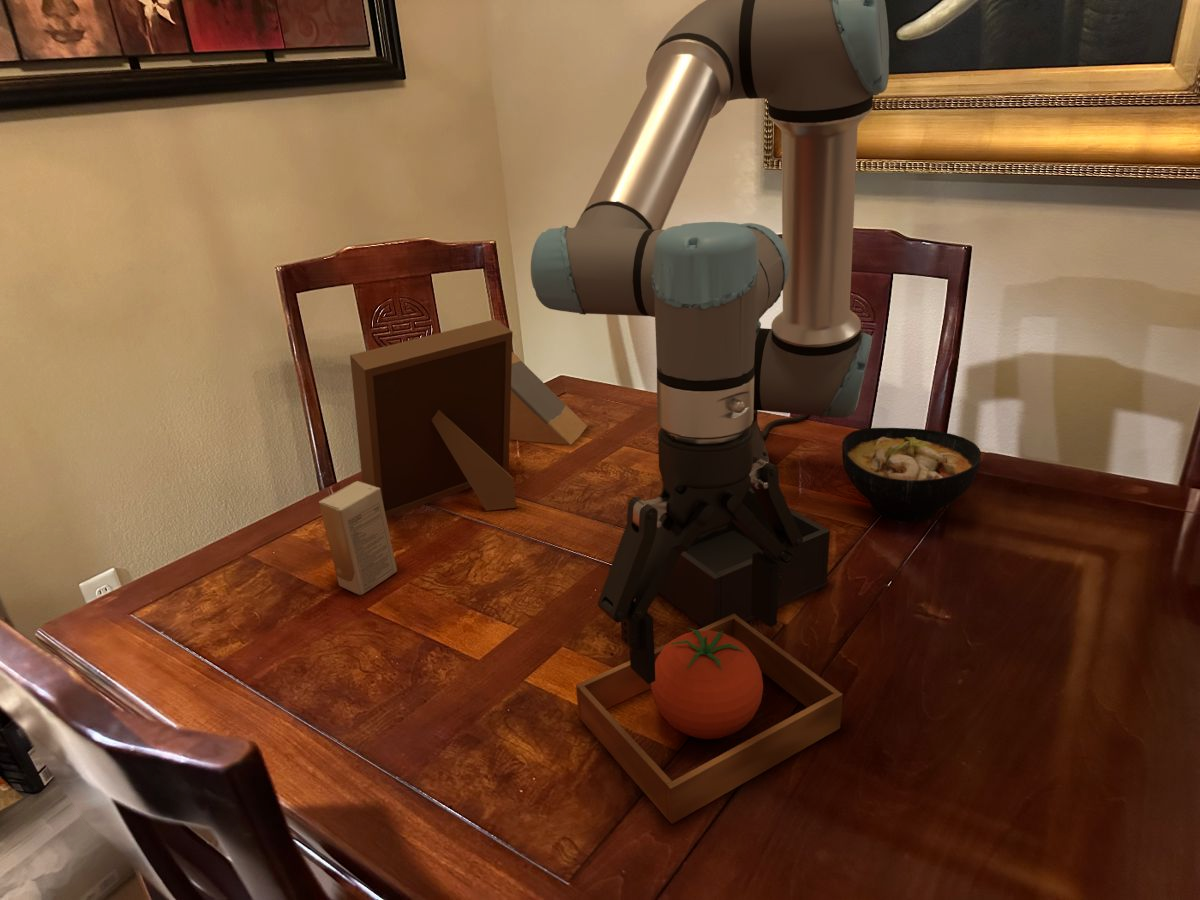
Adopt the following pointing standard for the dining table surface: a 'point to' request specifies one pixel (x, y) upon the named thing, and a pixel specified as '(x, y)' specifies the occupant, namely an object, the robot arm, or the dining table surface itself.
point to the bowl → (909, 470)
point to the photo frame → (437, 417)
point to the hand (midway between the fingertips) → (705, 645)
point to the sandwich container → (539, 410)
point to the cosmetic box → (358, 537)
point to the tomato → (707, 684)
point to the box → (731, 765)
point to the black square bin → (742, 569)
